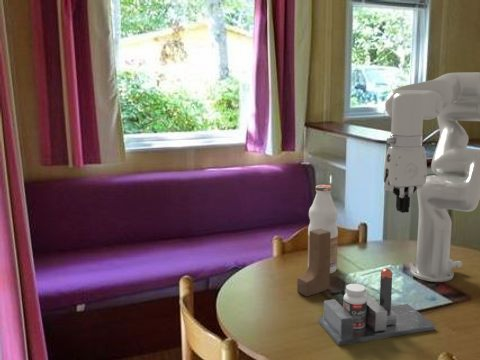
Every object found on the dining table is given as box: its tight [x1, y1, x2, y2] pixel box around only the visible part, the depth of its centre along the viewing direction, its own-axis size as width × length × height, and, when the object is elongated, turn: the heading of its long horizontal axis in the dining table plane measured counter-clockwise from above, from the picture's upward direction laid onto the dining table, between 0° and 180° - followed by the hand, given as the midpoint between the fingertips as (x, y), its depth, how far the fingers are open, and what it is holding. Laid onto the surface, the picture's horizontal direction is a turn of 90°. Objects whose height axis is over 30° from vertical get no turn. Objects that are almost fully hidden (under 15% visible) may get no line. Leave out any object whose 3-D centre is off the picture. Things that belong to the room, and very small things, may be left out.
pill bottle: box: [342, 283, 367, 329], centre depth 121 cm, size 6×6×10 cm
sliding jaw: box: [364, 268, 397, 332], centre depth 122 cm, size 7×10×14 cm
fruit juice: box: [307, 184, 339, 275], centre depth 157 cm, size 9×9×28 cm
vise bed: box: [317, 298, 436, 347], centre depth 123 cm, size 26×12×6 cm, turn 104°
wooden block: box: [296, 228, 331, 297], centre depth 142 cm, size 9×4×18 cm, turn 122°
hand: (402, 211), depth 127 cm, fingers closed
